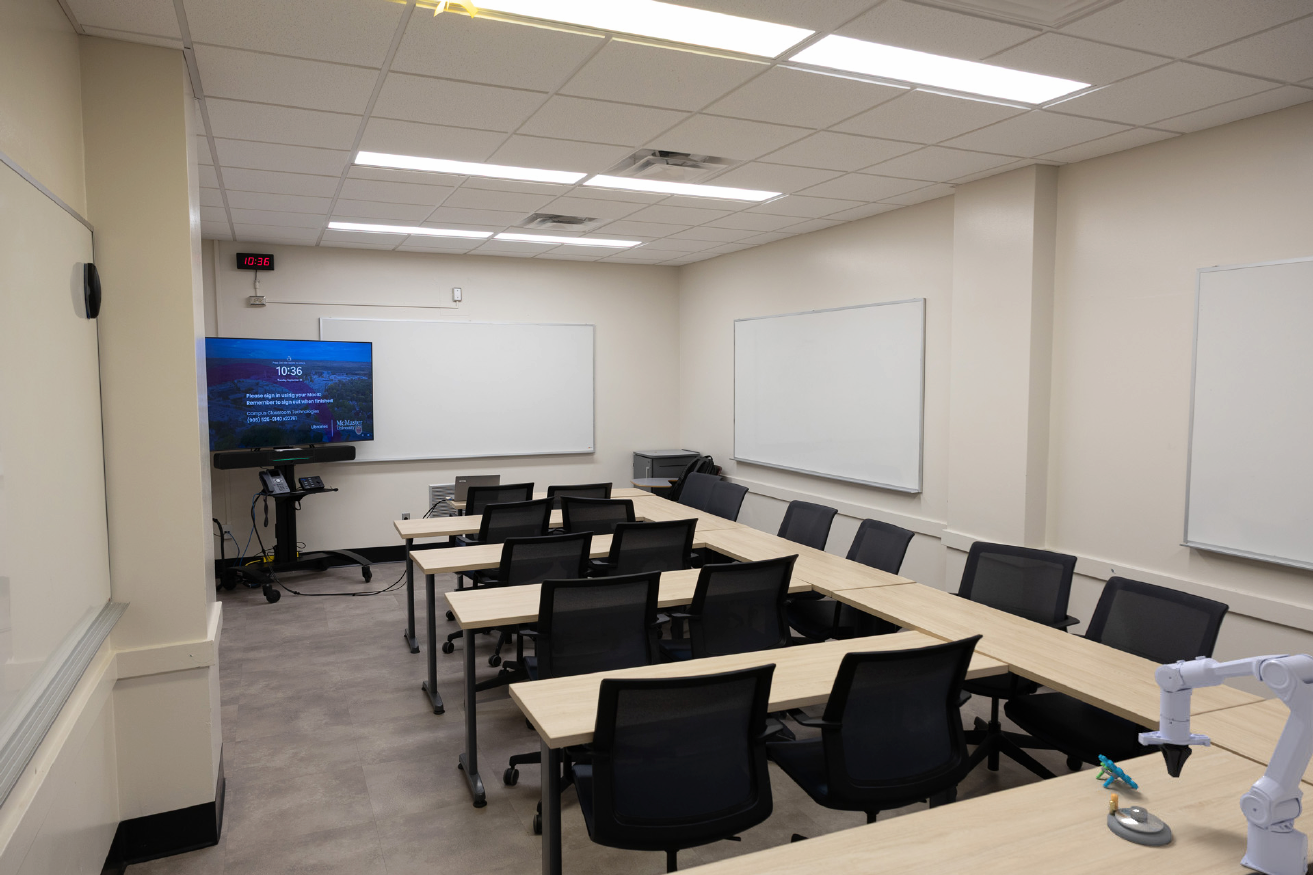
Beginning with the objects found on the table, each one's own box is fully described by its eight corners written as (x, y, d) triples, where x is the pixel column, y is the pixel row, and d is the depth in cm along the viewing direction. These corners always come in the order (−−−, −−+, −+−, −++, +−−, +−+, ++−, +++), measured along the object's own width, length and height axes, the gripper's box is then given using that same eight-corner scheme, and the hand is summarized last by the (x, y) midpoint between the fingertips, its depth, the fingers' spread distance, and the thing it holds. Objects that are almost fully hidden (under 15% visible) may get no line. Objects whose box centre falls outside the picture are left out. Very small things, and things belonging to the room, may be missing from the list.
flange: (1172, 826, 169) (1172, 810, 169) (1147, 837, 165) (1147, 820, 165) (1122, 803, 179) (1123, 788, 179) (1097, 813, 175) (1098, 797, 175)
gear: (1148, 791, 185) (1116, 760, 186) (1131, 809, 185) (1099, 777, 186) (1123, 775, 196) (1092, 746, 197) (1107, 792, 196) (1076, 763, 197)
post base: (1178, 831, 171) (1179, 811, 170) (1160, 852, 163) (1161, 831, 163) (1118, 810, 180) (1118, 791, 180) (1098, 829, 172) (1099, 809, 172)
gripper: (1197, 710, 180) (1195, 767, 180) (1132, 708, 181) (1130, 766, 181) (1217, 722, 173) (1215, 782, 173) (1149, 721, 174) (1147, 780, 174)
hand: (1173, 775), depth 177 cm, fingers closed
